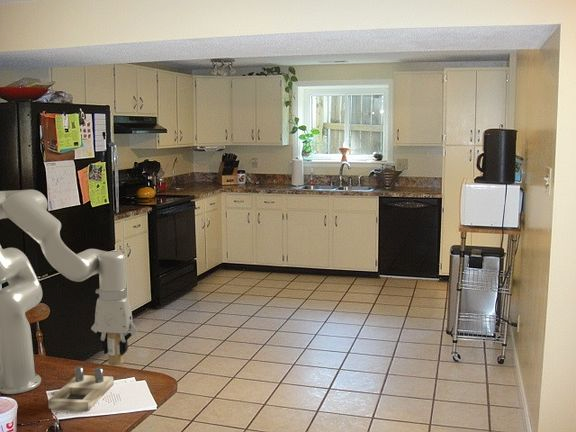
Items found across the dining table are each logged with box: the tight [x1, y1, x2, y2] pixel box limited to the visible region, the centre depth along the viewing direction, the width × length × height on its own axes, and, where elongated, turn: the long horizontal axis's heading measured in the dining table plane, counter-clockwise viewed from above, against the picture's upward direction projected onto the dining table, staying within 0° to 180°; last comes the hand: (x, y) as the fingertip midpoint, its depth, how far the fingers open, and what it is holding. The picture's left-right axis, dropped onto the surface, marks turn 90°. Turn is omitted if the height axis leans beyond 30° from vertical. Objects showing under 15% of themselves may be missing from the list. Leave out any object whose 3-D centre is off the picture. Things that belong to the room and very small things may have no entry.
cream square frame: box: [47, 365, 114, 412], centre depth 183 cm, size 12×17×6 cm
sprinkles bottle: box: [107, 333, 125, 367], centre depth 184 cm, size 5×5×13 cm
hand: (115, 352), depth 185 cm, fingers closed on sprinkles bottle, 4 cm apart
